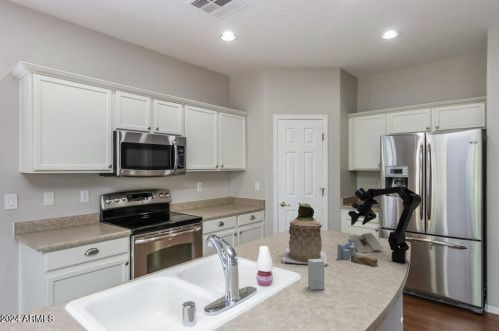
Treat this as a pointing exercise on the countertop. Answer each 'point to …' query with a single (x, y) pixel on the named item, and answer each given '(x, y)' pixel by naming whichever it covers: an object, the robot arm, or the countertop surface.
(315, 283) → the skincare box
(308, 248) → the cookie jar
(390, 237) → the robot arm
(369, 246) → the pale grey slotted block
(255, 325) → the countertop surface
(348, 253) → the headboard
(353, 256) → the rail
